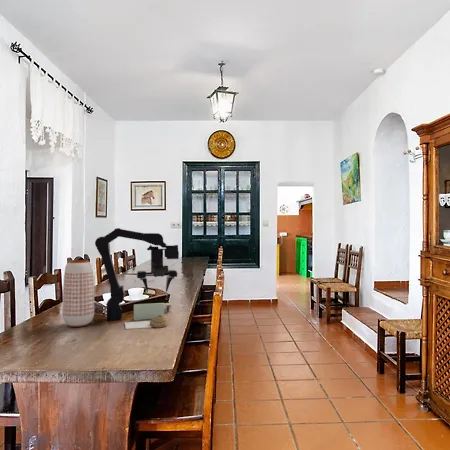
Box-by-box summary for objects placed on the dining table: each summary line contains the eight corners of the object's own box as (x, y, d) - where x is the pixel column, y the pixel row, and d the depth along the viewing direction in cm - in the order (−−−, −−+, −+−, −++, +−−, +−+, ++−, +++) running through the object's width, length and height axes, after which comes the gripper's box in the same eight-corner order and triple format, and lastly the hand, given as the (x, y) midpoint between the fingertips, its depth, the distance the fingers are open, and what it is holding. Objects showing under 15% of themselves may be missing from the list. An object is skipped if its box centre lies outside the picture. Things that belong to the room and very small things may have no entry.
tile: (125, 329, 164) (125, 328, 164) (124, 323, 174) (124, 322, 174) (152, 327, 167) (152, 326, 167) (149, 321, 177) (149, 320, 177)
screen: (134, 320, 178) (134, 305, 178) (133, 318, 182) (133, 303, 182) (164, 318, 182) (164, 303, 183) (163, 316, 186) (163, 302, 186)
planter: (83, 329, 164) (84, 262, 164) (55, 327, 166) (56, 261, 166) (100, 321, 177) (100, 259, 177) (73, 320, 179) (74, 259, 179)
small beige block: (164, 313, 194) (164, 305, 194) (160, 311, 198) (161, 303, 198) (172, 312, 196) (172, 304, 196) (168, 310, 200) (168, 303, 200)
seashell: (173, 318, 174) (166, 315, 167) (170, 331, 172) (163, 328, 165) (156, 315, 176) (149, 312, 169) (153, 328, 174) (146, 325, 167)
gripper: (138, 261, 175) (138, 295, 175) (179, 260, 181) (179, 293, 181) (136, 259, 186) (136, 291, 186) (175, 258, 191) (175, 290, 191)
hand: (156, 292), depth 186 cm, fingers open, 9 cm apart
